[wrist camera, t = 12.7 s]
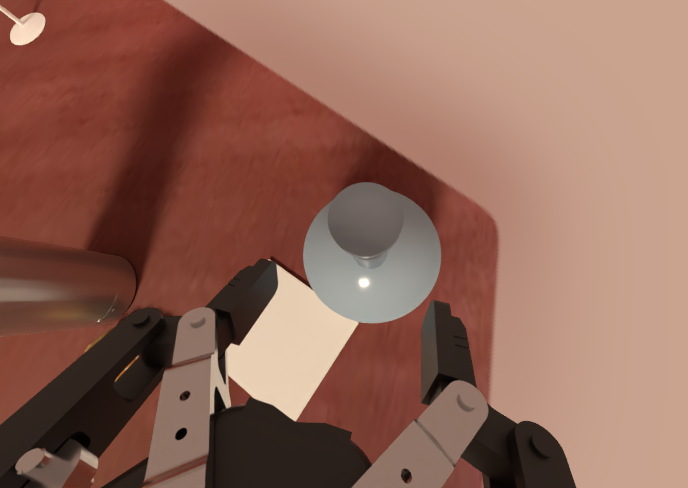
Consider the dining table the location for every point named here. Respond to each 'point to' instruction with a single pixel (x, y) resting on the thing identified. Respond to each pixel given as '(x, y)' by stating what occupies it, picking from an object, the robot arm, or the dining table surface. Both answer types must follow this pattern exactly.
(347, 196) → the lid
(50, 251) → the robot arm
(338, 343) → the mat
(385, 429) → the dining table surface
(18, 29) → the wineglass
